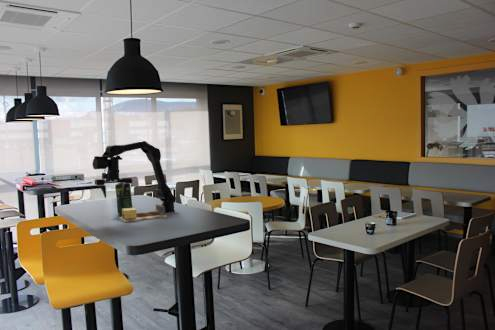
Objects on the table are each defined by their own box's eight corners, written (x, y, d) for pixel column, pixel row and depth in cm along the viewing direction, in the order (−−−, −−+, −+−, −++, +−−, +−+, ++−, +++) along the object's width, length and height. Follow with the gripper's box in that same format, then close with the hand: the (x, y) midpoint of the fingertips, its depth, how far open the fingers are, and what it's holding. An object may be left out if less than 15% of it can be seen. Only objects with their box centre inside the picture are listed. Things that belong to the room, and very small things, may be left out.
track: (160, 214, 232) (159, 203, 232) (166, 217, 222) (166, 206, 221) (119, 218, 221) (119, 208, 221) (124, 222, 211) (123, 211, 210)
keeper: (133, 215, 223) (132, 207, 222) (136, 217, 216) (136, 209, 215) (122, 216, 220) (121, 208, 219) (125, 219, 213) (125, 210, 212)
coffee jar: (134, 212, 234) (131, 181, 234) (121, 214, 229) (118, 182, 229) (129, 212, 241) (126, 181, 242) (116, 214, 237) (113, 183, 237)
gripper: (125, 167, 226) (126, 194, 227) (91, 168, 216) (92, 197, 217) (132, 167, 217) (133, 196, 218) (96, 169, 207) (97, 199, 207)
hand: (114, 197), depth 215 cm, fingers open, 9 cm apart
